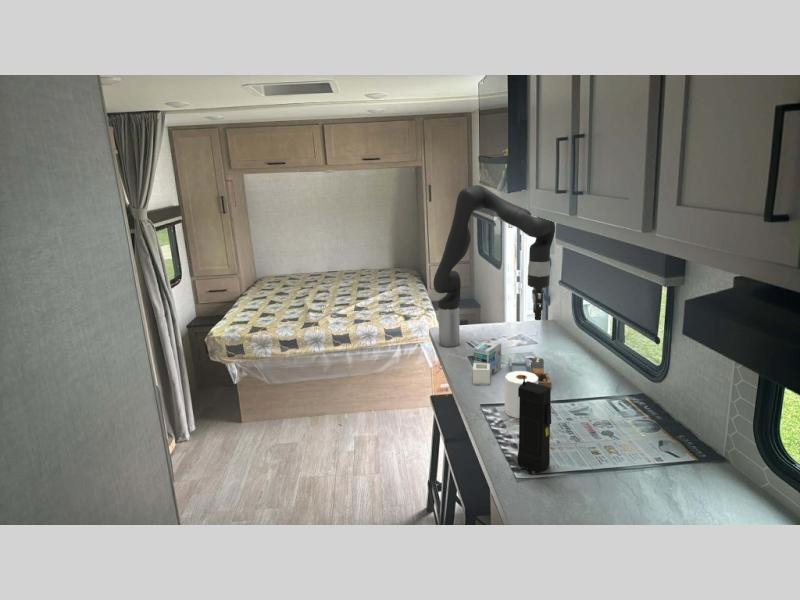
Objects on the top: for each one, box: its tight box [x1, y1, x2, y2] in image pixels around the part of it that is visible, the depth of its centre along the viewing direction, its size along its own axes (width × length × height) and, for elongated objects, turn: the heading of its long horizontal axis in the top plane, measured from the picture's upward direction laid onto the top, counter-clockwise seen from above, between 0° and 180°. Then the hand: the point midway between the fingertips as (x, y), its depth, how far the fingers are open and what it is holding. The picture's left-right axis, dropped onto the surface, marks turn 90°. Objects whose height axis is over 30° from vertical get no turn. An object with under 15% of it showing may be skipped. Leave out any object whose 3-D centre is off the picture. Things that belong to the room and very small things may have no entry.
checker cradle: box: [505, 357, 532, 374], centre depth 198 cm, size 11×12×4 cm
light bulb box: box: [473, 340, 502, 377], centre depth 200 cm, size 11×7×11 cm, turn 143°
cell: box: [531, 357, 545, 382], centre depth 186 cm, size 4×4×9 cm
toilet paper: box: [504, 371, 538, 419], centre depth 166 cm, size 10×10×12 cm
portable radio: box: [517, 375, 552, 474], centre depth 135 cm, size 8×6×25 cm
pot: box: [472, 362, 491, 386], centre depth 191 cm, size 6×6×6 cm
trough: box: [538, 373, 552, 389], centre depth 187 cm, size 8×8×2 cm
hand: (537, 316), depth 188 cm, fingers open, 8 cm apart
